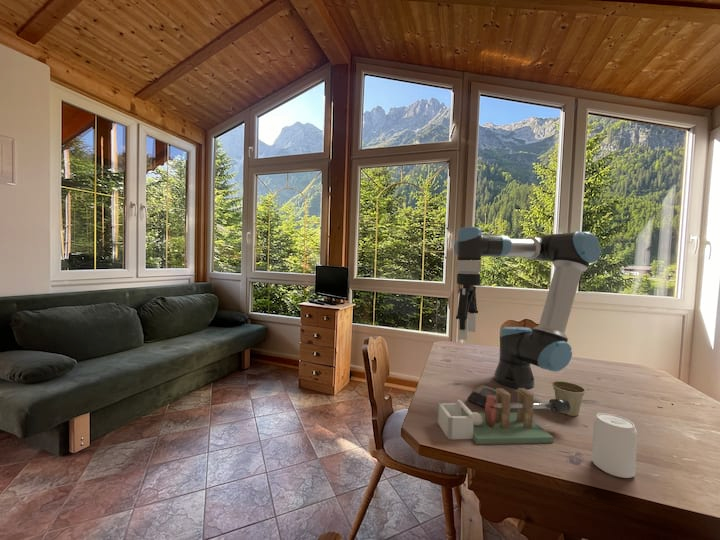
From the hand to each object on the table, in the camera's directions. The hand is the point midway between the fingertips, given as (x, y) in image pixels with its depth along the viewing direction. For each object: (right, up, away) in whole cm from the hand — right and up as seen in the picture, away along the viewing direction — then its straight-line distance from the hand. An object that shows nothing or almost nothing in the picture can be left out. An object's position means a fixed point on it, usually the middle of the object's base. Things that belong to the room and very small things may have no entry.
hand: (467, 335), depth 104 cm
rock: (+9, -25, +4) cm, 27 cm away
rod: (+13, -23, -13) cm, 30 cm away
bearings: (+9, -24, -13) cm, 29 cm away
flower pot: (+34, -26, -1) cm, 42 cm away
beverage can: (+25, -26, -30) cm, 47 cm away
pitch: (+6, -25, -13) cm, 29 cm away
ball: (-2, -22, -14) cm, 26 cm away
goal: (-9, -25, -15) cm, 30 cm away
